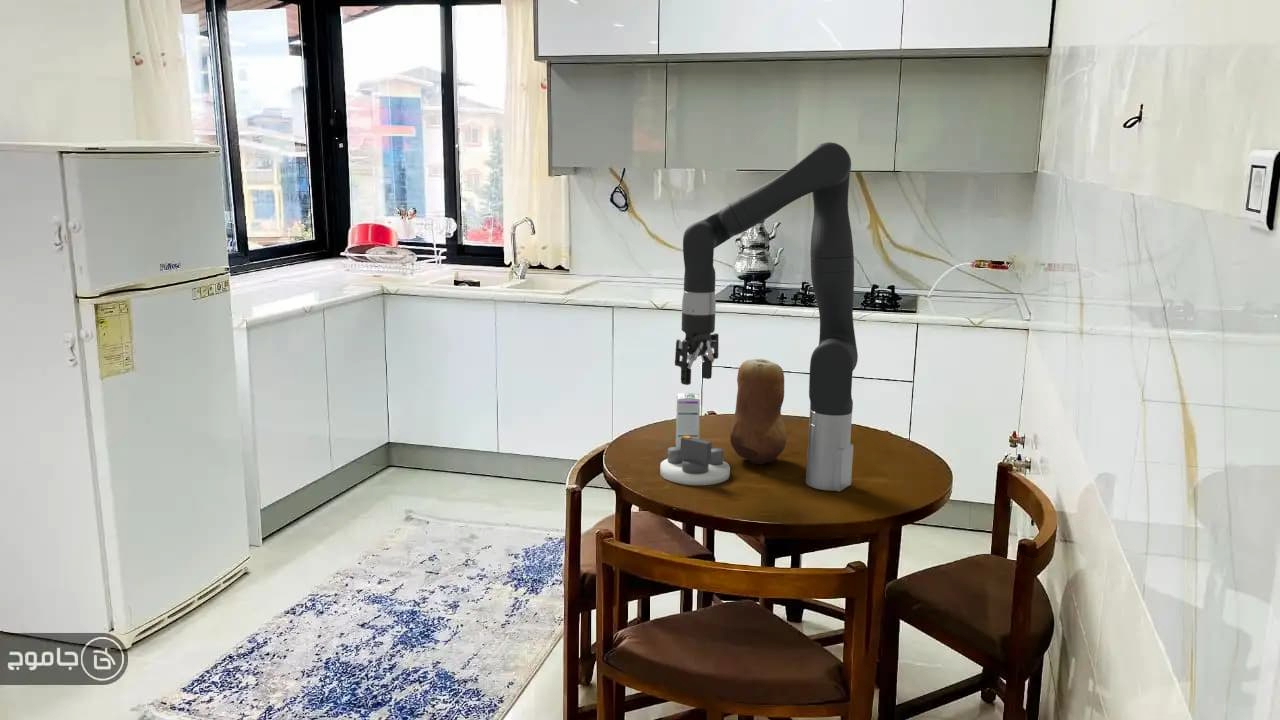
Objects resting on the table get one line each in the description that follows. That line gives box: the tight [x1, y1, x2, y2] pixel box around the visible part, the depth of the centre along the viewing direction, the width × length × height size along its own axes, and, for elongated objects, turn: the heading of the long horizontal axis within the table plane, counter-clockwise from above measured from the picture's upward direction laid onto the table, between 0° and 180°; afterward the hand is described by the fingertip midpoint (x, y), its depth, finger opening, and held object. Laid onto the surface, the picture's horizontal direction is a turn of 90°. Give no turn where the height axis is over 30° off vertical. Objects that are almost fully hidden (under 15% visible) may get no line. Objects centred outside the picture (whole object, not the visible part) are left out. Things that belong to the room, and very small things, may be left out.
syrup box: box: [675, 392, 701, 448], centre depth 234 cm, size 6×6×14 cm
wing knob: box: [680, 436, 712, 474], centre depth 214 cm, size 7×6×7 cm
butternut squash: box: [729, 358, 787, 466], centre depth 227 cm, size 14×13×25 cm
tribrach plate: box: [659, 446, 731, 486], centre depth 219 cm, size 16×16×5 cm
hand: (696, 381), depth 216 cm, fingers open, 8 cm apart
